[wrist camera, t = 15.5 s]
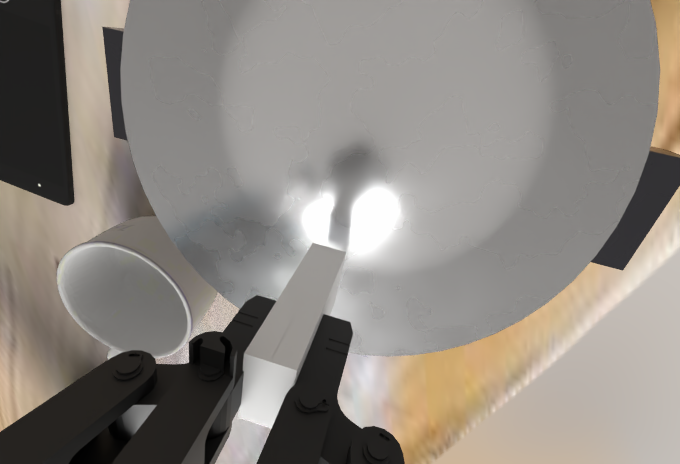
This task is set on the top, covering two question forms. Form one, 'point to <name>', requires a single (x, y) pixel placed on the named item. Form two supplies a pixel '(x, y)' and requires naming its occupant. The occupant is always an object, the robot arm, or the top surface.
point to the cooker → (639, 217)
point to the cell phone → (34, 100)
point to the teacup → (134, 289)
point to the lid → (393, 148)
